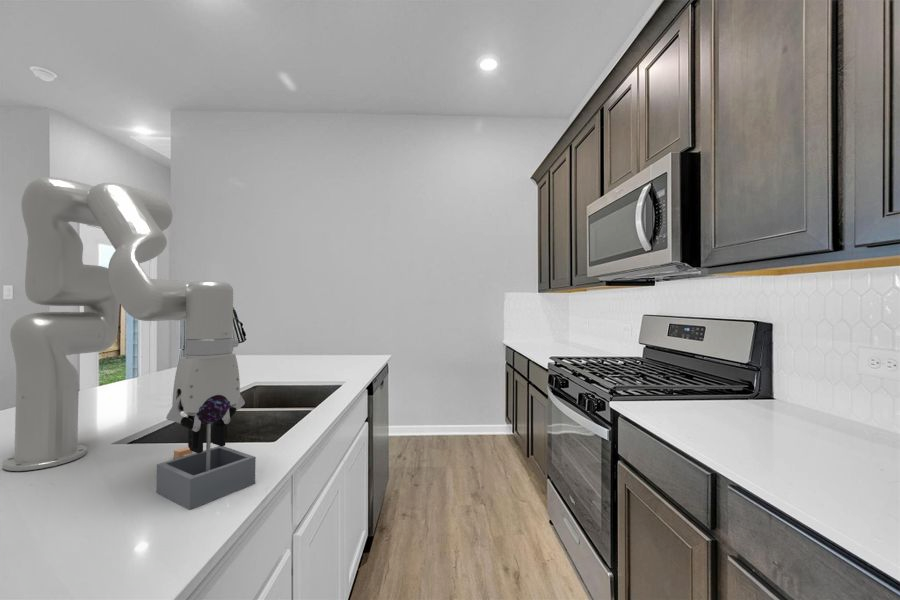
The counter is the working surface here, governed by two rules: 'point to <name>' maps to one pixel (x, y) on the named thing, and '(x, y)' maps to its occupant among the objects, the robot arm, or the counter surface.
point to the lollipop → (212, 418)
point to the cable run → (182, 452)
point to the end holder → (204, 476)
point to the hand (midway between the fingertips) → (207, 447)
